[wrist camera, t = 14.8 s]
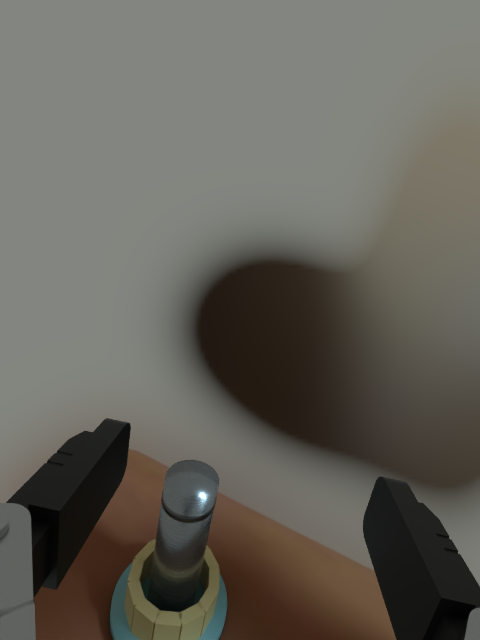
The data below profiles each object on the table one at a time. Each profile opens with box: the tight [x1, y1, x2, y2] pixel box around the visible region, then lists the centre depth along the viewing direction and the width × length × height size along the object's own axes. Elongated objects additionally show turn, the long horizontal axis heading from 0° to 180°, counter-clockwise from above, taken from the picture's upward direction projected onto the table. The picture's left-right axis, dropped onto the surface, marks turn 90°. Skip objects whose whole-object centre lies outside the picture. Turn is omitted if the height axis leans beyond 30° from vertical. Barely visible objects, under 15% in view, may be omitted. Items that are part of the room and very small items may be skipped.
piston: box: [147, 460, 219, 612], centre depth 30 cm, size 5×5×14 cm
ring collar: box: [110, 539, 227, 640], centre depth 32 cm, size 11×11×4 cm
